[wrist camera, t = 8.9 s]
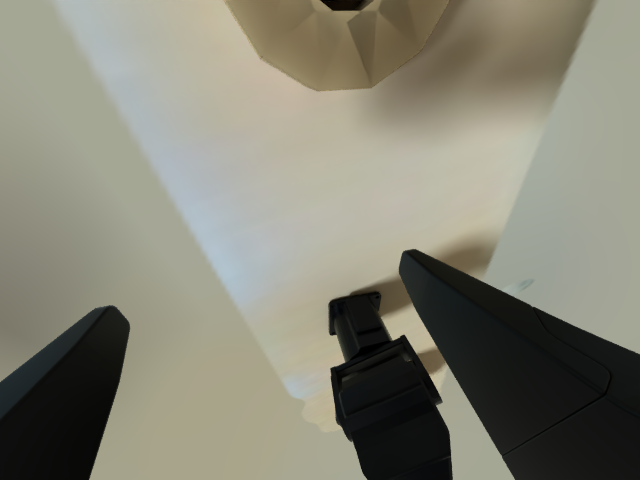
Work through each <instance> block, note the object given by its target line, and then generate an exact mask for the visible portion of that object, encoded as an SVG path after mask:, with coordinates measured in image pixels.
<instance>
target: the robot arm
mask: <svg viewBox="0 0 640 480" xmlns="http://www.w3.org/2000/svg"><path fill="white" fill-rule="evenodd" d="M399 274H400V276H401V278H402V281H403V283H404V285H405V287H406V289H407V292H408V294H409V296H410V298H411V300H412V303H413V305H414V307H415V309H416V311H417V313H418V315H419V317H420V318H421V320H422V322H423V323H424V325H425V327H426V329H427V330H428V332H429V334H430V335H431V337H432V339H433V340H434V342H435V344H436V346H437V347H438V349H439V351H440V352H441V354H442V356H443V357H444V359H445V361H446V363H447V364H448V366H449V368H450V369H451V371H452V373H453V374H454V376H455V378H456V380H457V381H458V383H459V385H460V386H461V388H462V390H463V391H464V393H465V395H466V396H467V398H468V400H469V402H470V403H471V405H472V407H473V408H474V410H475V412H476V413H477V415H478V417H479V418H480V420H481V422H482V423H483V425H484V427H485V429H486V430H487V432H488V434H489V436H490V437H491V439H492V441H493V442H494V444H495V446H496V448H497V449H498V451H499V453H500V454H501V455H502V458H503V460H504V461H505V463H506V464H507V467H508V468H509V470H510V472H511V473H512V475H513V477H514V479H515V480H640V354H638V353H635V352H633V351H631V350H628V349H626V348H623V347H621V346H619V345H617V344H614V343H612V342H610V341H607V340H605V339H603V338H600V337H598V336H596V335H594V334H591V333H589V332H587V331H585V330H582V329H580V328H578V327H575V326H573V325H571V324H569V323H567V322H565V321H563V320H561V319H558V318H556V317H554V316H552V315H550V314H548V313H546V312H544V311H541V310H540V309H538V308H536V307H532V306H531V305H529V304H527V303H525V302H523V301H521V300H519V299H517V298H515V297H513V296H511V295H509V294H507V293H505V292H503V291H501V290H498V289H496V288H494V287H492V286H490V285H488V284H486V283H484V282H482V281H480V280H478V279H476V278H474V277H472V276H470V275H468V274H466V273H464V272H462V271H459V270H457V269H455V268H453V267H451V266H449V265H447V264H445V263H443V262H441V261H439V260H437V259H435V258H433V257H431V256H429V255H427V254H425V253H423V252H420V251H418V250H416V249H411V250H406V251H404V252H403V253H402V256H401V261H400V265H399ZM380 300H381V294H380V293H379V292H374V293H369V294H364V295H360V296H355V297H350V298H346V299H341V300H336V301H332V302H330V303H329V305H328V308H329V334H330V335H337V337H338V341H339V344H340V347H341V350H342V353H343V356H344V359H345V363H343V364H341V365H339V366H337V367H335V366H334V367H332V368H330V369H331V382H332V389H333V396H334V403H335V414H336V422H337V424H338V425H340V426H341V427H342V428H343V431H344V433H345V435H346V437H347V438H348V440H349V441H351V442H352V441H353V443H354V446H355V449H356V451H357V455H358V459H359V462H360V466H361V469H362V472H363V474H364V476H365V477H366V478H367V480H453V477H452V462H451V449H450V434H449V430H448V428H447V426H446V424H445V422H444V420H443V418H442V416H441V415H440V413H439V411H438V409H437V407H436V405H438V404H441V403H442V399H441V397H440V395H439V393H438V391H437V389H436V387H435V385H434V383H433V381H432V380H431V378H430V376H429V374H428V373H427V371H426V369H425V367H424V366H423V364H422V362H421V361H420V359H419V358H418V356H417V354H416V353H415V351H414V349H413V348H412V346H411V344H410V343H409V341H408V340H407V338H406V336H405V335H402V336H400V338H398V339H396V340H394V341H393V340H392V338H391V336H390V334H389V332H388V330H387V329H386V327H385V325H384V323H383V321H382V319H381V317H380V315H379V313H378V311H379V306H380ZM129 332H130V324H129V322H128V320H127V319H126V318H125V317H124V316H123V315H122V313H121V312H120V311H119V310H118V309H117V308H116V307H115V306H113V305H112V306H110V305H109V306H104V307H99V308H95V309H94V310H92V311H91V312H90V313H88V314H87V315H86V316H84V317H83V318H82V319H80V320H79V321H78V322H77V323H75V324H74V325H73V326H72V327H70V328H69V329H68V330H66V331H65V332H64V333H63V334H61V335H60V336H59V337H57V338H56V339H55V340H54V341H53V342H51V343H50V344H48V345H47V346H46V347H45V348H43V349H42V350H41V351H40V352H38V353H37V354H36V355H34V356H33V357H32V358H31V359H29V360H28V361H27V362H25V363H24V364H23V365H22V366H20V367H19V368H18V369H16V370H15V371H14V372H13V373H11V374H10V375H9V376H8V377H6V378H5V379H4V380H3V381H1V382H0V480H89V478H90V475H91V472H92V469H93V466H94V463H95V459H96V456H97V453H98V450H99V447H100V443H101V440H102V437H103V434H104V431H105V427H106V424H107V421H108V418H109V415H110V411H111V408H112V405H113V402H114V399H115V395H116V392H117V389H118V385H119V382H120V377H121V373H122V368H123V363H124V358H125V352H126V347H127V342H128V337H129ZM409 359H410V360H411V361H408V362H405V361H407V360H409Z"/></svg>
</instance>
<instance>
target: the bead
mask: <svg viewBox="0 0 640 480" xmlns="http://www.w3.org/2000/svg"><path fill="white" fill-rule="evenodd" d="M449 1H450V0H361V1H360V4H359V6H357V7H356V8H355V9H354V10H352V11H332V10H331V9H330V8H328V7H327V6H326V5H325V4H324V3H322V2H321V1H320V0H224V2H225V3H226V5H227V6H228V8H229V10H230V11H231V13H232V14H233V16H234V18H235V19H236V21H237V23H238V24H239V26H240V27H241V29H242V31H243V32H244V34H245V35H246V37H247V39H248V40H249V42H250V43H251V45H252V47H253V48H254V50H255V51H256V53H257V55H258V56H259V58H260V57H261V58H260V59H262V60H263V61H265V62H266V63H268V64H270V65H271V66H273V67H275V68H276V69H278V70H279V71H281V72H283V73H284V74H286V75H288V76H289V77H291V78H292V79H294V80H296V81H297V82H299V83H301V84H302V85H304V86H306V87H308V88H311V89H313V90H316V91H331V90H348V89H364V88H372V87H373V86H375V85H376V84H377V83H379V82H380V81H382V80H383V79H384V78H386V77H387V76H388V75H390V74H391V73H392V72H394V71H395V70H396V69H398V68H399V67H400V66H402V65H403V64H404V63H406V62H407V61H408V60H410V59H411V58H412V57H414V56H415V55H416V54H418V53H419V52H420V51H421V50H422V48H423V46H424V45H425V43H426V41H427V39H428V38H429V36H430V34H431V32H432V31H433V29H434V27H435V25H436V24H437V22H438V20H439V19H440V17H441V15H442V13H443V12H444V10H445V8H446V6H447V5H448V3H449Z"/></svg>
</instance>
